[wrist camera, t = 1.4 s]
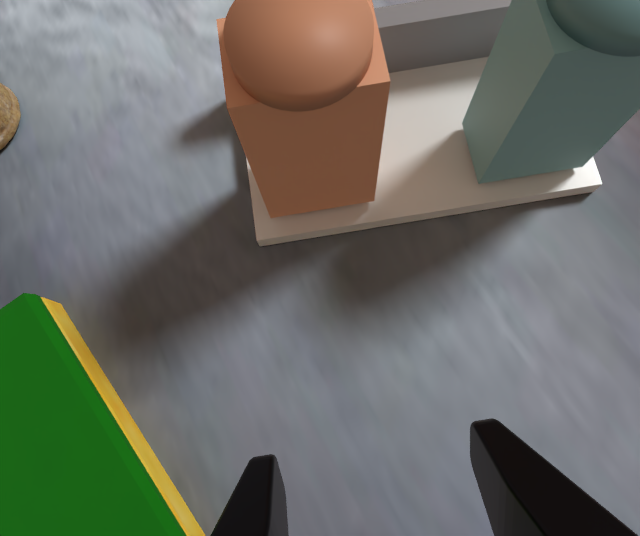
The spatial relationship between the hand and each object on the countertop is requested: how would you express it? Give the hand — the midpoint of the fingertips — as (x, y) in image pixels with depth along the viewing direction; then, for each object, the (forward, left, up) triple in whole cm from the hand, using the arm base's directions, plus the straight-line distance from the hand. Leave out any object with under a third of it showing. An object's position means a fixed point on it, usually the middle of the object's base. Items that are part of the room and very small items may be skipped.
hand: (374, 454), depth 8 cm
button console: (+8, -11, -12) cm, 18 cm away
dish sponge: (+7, +10, -12) cm, 17 cm away
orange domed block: (+9, -6, -10) cm, 15 cm away
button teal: (+3, -13, -10) cm, 17 cm away
